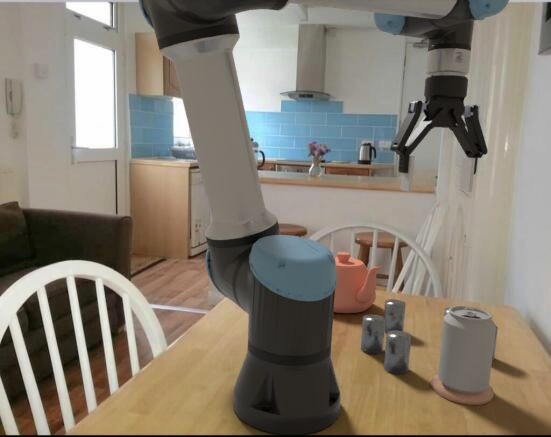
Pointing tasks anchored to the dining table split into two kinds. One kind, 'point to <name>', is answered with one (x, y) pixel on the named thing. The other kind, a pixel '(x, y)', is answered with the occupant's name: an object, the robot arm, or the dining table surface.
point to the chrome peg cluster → (391, 336)
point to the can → (466, 349)
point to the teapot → (353, 285)
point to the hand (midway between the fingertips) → (436, 191)
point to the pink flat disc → (459, 397)
